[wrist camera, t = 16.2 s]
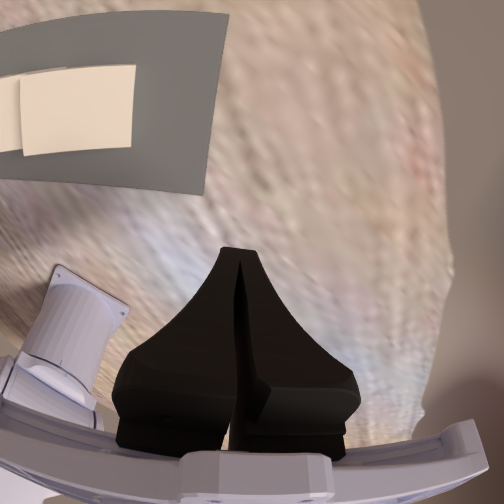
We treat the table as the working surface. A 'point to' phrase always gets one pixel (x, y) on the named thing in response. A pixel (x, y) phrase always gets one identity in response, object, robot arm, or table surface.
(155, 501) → the robot arm
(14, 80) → the domino
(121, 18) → the slate mat
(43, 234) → the table surface
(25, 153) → the domino
